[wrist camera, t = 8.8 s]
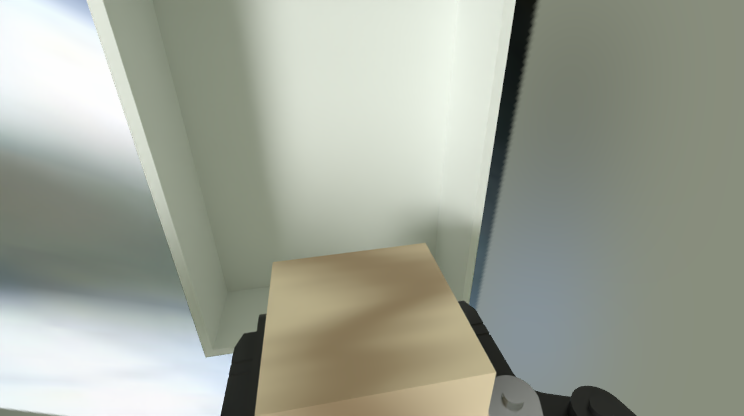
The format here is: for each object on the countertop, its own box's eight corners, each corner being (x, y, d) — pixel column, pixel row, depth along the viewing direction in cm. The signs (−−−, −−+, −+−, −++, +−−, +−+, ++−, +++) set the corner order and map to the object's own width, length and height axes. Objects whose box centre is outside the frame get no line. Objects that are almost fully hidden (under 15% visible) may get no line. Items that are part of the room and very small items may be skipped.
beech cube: (425, 242, 12) (496, 371, 8) (420, 346, 14) (471, 489, 10) (272, 262, 11) (254, 417, 7) (294, 367, 14) (290, 530, 9)
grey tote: (434, 260, 23) (466, 317, 18) (224, 286, 21) (205, 357, 16) (463, -66, 15) (531, -101, 11) (130, -75, 13) (46, -123, 9)
